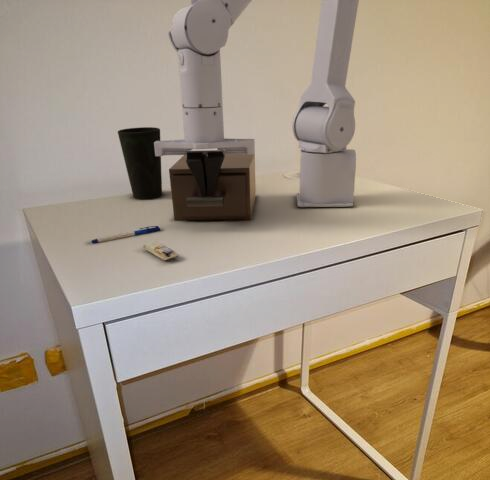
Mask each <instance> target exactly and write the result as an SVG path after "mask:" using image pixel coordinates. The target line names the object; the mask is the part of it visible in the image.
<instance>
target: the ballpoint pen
mask: <svg viewBox="0 0 490 480" xmlns="http://www.w3.org/2000/svg"><path fill="white" fill-rule="evenodd" d="M160 231H161V227H160V226H159V225H150V226H145V227H140V228H139V229H138V230H133V231H130V232H124V233H119V234H114V235H109V236H103V237H97V238H95V239H91V243H92V244H97V243H103V242H107V241H108V242H109V241H115V240H119V239H125V238H129V237H133V236H140V235H145V234H150V233H155V232H160Z"/></svg>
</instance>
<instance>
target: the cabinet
mask: <svg viewBox="0 0 490 480" xmlns="http://www.w3.org/2000/svg"><path fill="white" fill-rule="evenodd" d="M224 155H225V157H224V160H223V163H222V166H221V168H220V171H219V174H231V173H245V174H246V200H247V215H246V216H216V217H176V212H175V203H174V193H173V184H172V176H173V175H180V174H192V172H191V170H190V169H189V167H188V165H187V163H186V160H187V155H182V156H181V157H180V158H179V159H178V160H177V161H176V162H174V164H173V165H172V166H171V167H170V168H168V172H169V182H170V192H171V193H170V194H171V200H172V209H173V210H172V211H173V219H174V221H227V220H228V221H229V220H232V221H233V220H234V221H235V220H238V221H239V220H240V221H241V220H248V221H249V220H251V219H252V216H253V211H254V206H255V201H256V197H257V194H256V193H257V190H256V189H257V188H256V153H255V154H251V155H248V154H224ZM207 156H208V155H207Z"/></svg>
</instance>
